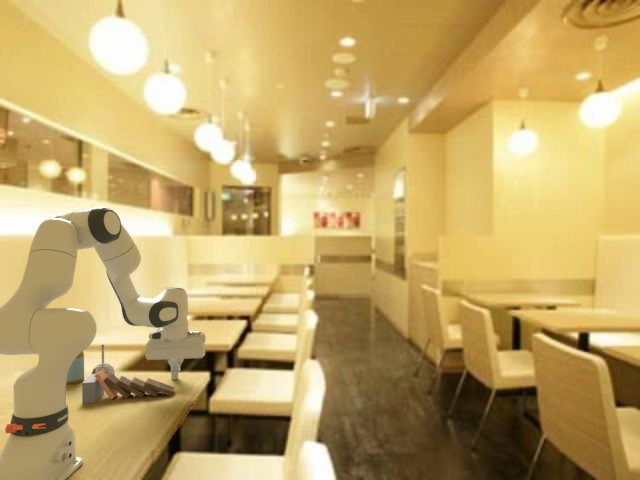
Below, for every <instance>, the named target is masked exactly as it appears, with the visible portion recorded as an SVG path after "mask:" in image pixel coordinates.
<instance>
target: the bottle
mask: <svg viewBox="0 0 640 480" xmlns="http://www.w3.org/2000/svg"><path fill="white" fill-rule="evenodd" d="M84 381H85V352H84V350H83V351H82V352H81V353H80V354H79V355H78V356H77V357H76V358H75V360H74V361H73V363H72V364H71V366H70V369H69V372H68V375H67V384H66V385H74V384H79V383H83V382H84Z"/></svg>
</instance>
